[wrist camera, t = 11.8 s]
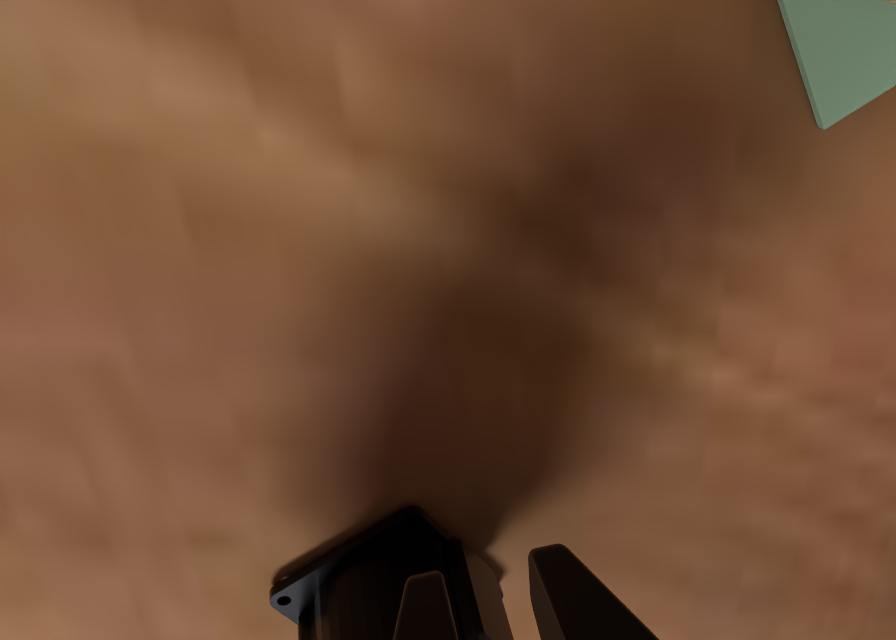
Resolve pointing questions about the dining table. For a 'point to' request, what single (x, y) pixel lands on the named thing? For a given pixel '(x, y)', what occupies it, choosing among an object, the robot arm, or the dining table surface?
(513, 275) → the dining table surface
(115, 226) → the dining table surface
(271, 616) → the dining table surface
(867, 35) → the felt pad
